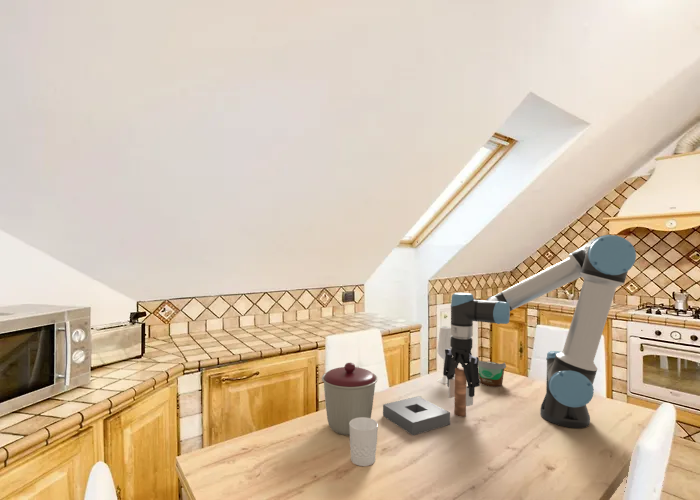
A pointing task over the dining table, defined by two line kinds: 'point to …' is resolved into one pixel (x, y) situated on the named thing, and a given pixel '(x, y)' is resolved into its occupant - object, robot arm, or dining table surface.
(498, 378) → the food container
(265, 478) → the dining table surface
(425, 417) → the socket block
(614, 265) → the robot arm
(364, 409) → the canister
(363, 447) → the white cup
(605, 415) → the dining table surface
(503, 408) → the dining table surface
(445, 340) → the champagne flute
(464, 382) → the peg
